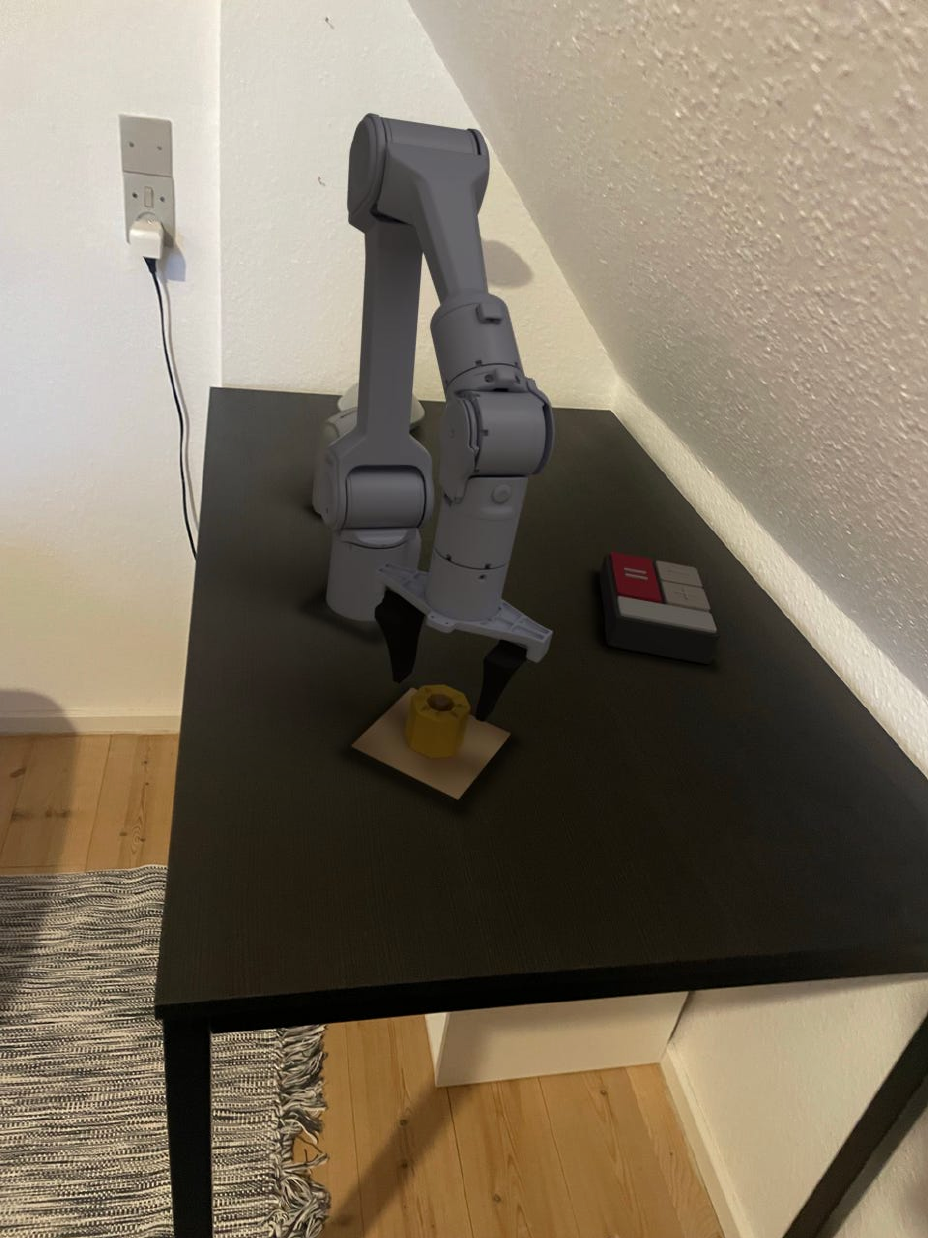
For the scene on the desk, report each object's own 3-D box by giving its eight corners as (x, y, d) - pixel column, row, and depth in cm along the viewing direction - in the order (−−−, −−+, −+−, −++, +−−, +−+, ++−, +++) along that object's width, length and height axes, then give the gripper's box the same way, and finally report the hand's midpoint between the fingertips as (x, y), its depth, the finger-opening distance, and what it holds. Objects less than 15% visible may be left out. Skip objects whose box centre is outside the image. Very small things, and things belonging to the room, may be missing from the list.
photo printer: (369, 488, 118) (381, 394, 111) (393, 502, 116) (407, 407, 109) (305, 507, 111) (314, 408, 104) (330, 523, 109) (340, 422, 102)
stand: (410, 694, 85) (418, 649, 82) (509, 740, 82) (521, 695, 79) (349, 753, 77) (356, 705, 74) (456, 806, 74) (467, 759, 71)
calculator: (700, 564, 108) (724, 630, 95) (689, 597, 110) (711, 665, 97) (606, 546, 108) (617, 610, 95) (597, 579, 110) (606, 646, 97)
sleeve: (423, 714, 82) (430, 677, 79) (469, 736, 80) (478, 699, 78) (396, 742, 78) (402, 704, 76) (444, 766, 77) (452, 728, 74)
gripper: (359, 534, 68) (340, 682, 75) (540, 609, 64) (501, 759, 71) (408, 502, 74) (385, 644, 81) (577, 569, 69) (537, 713, 77)
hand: (442, 695), depth 76 cm, fingers open, 7 cm apart
